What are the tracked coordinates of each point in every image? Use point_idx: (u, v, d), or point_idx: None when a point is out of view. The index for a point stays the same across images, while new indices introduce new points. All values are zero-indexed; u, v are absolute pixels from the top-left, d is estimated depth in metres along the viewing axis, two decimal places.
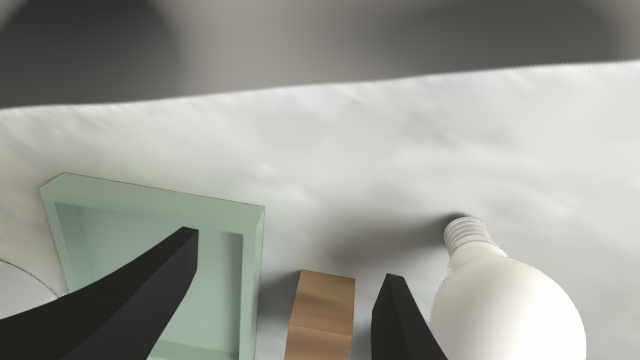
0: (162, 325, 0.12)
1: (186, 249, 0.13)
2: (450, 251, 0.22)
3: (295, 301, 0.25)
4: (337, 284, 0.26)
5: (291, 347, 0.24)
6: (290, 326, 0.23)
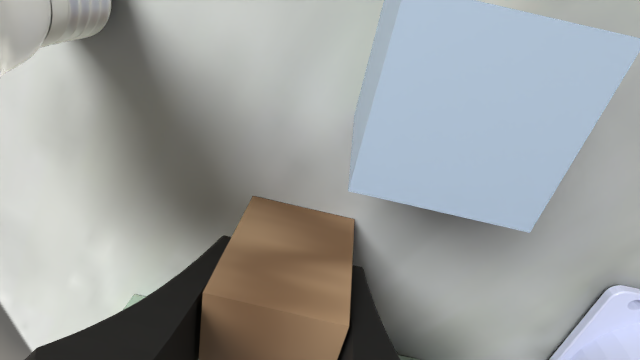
0: None
1: None
2: None
3: None
4: None
5: None
6: None
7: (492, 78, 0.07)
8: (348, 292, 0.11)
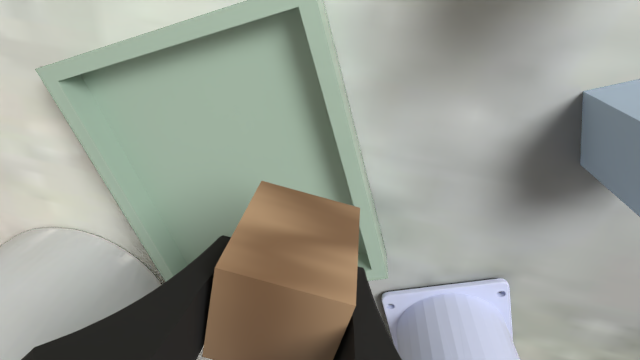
0: None
1: None
2: None
3: None
4: None
5: None
6: (206, 355, 0.12)
7: None
8: (355, 275, 0.11)
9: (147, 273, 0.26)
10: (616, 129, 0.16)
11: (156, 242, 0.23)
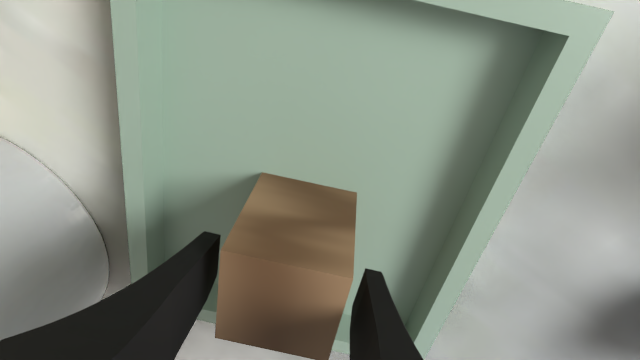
0: (186, 331, 0.12)
1: (209, 254, 0.13)
2: None
3: None
4: None
5: (276, 343, 0.13)
6: (218, 336, 0.13)
7: None
8: (352, 252, 0.12)
9: (98, 242, 0.18)
10: None
11: (147, 222, 0.15)
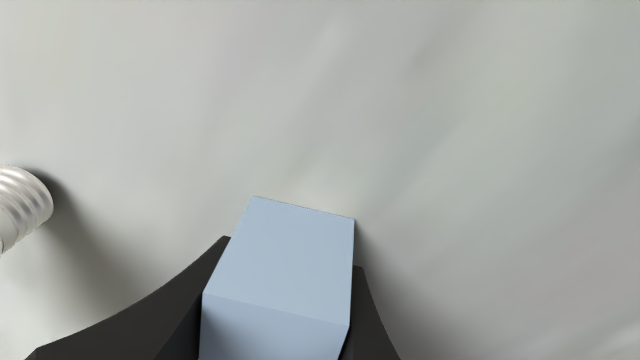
0: None
1: None
2: None
3: None
4: None
5: None
6: None
7: (267, 335, 0.10)
8: None
9: None
10: None
11: None
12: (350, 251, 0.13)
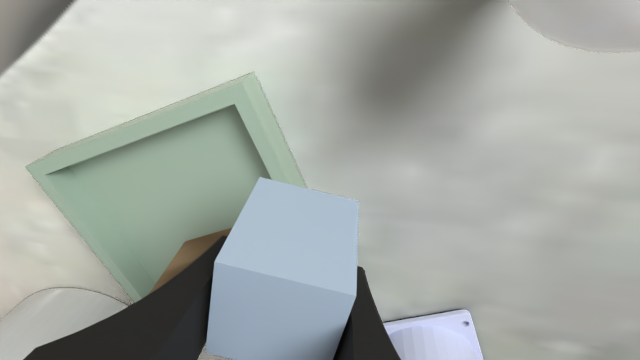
0: (206, 335, 0.12)
1: None
2: None
3: None
4: None
5: None
6: None
7: (276, 306, 0.11)
8: None
9: None
10: None
11: None
12: (355, 229, 0.13)
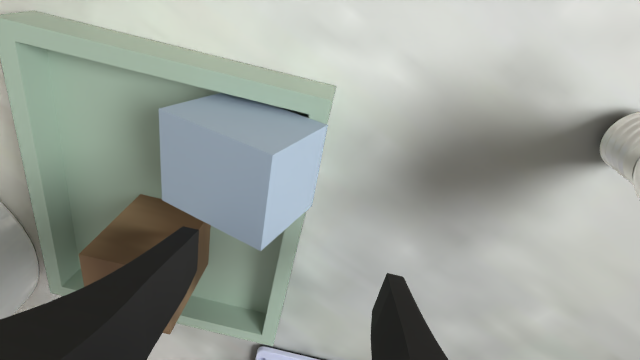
0: (162, 325, 0.12)
1: (186, 249, 0.13)
2: (633, 154, 0.14)
3: None
4: None
5: None
6: None
7: (298, 165, 0.14)
8: None
9: (25, 243, 0.23)
10: None
11: (53, 230, 0.20)
12: (264, 103, 0.16)
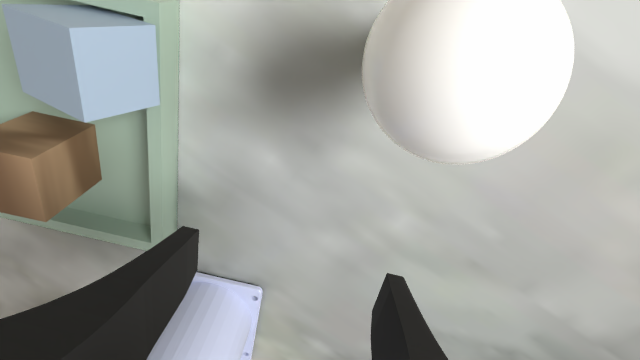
0: (162, 325, 0.12)
1: (186, 249, 0.13)
2: None
3: None
4: None
5: (12, 209, 0.20)
6: None
7: (117, 52, 0.17)
8: (48, 149, 0.20)
9: None
10: None
11: None
12: (112, 12, 0.19)
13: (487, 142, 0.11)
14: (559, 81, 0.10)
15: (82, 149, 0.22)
